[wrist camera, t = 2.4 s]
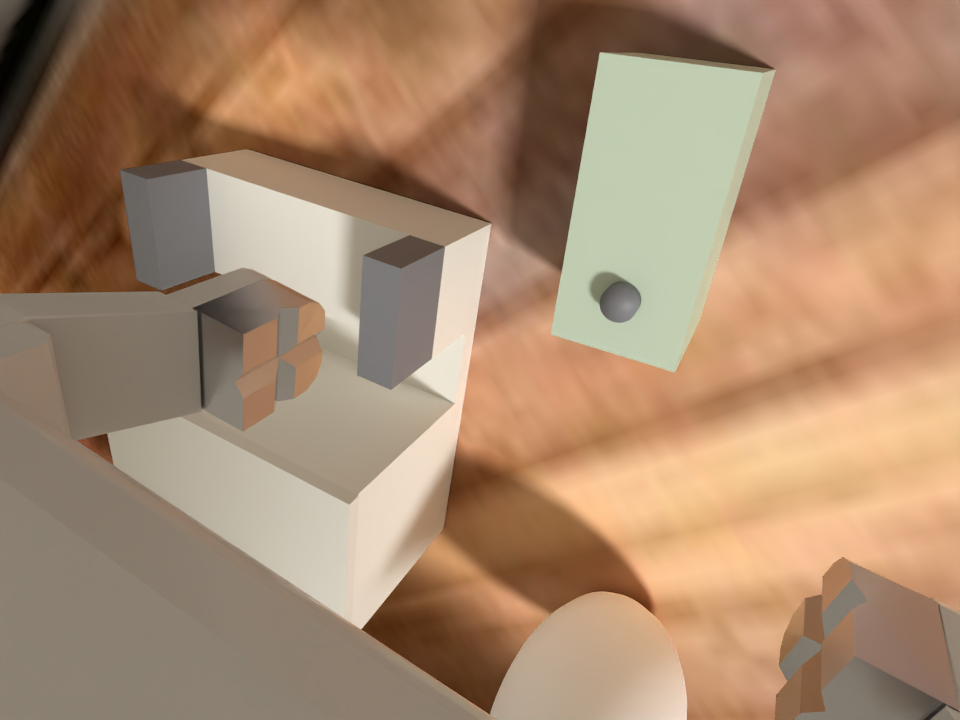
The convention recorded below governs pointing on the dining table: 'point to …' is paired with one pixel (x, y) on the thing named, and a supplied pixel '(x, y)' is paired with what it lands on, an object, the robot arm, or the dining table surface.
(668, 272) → the door panel
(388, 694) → the robot arm
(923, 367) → the dining table surface
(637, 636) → the sauce bottle
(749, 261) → the dining table surface
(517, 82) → the dining table surface
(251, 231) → the cream armchair block
